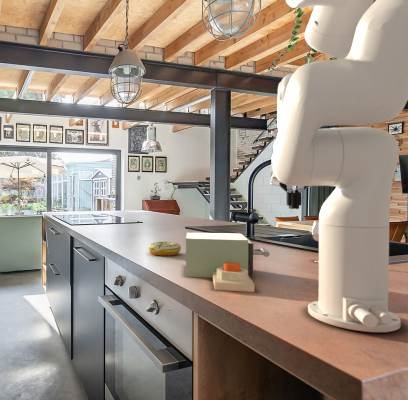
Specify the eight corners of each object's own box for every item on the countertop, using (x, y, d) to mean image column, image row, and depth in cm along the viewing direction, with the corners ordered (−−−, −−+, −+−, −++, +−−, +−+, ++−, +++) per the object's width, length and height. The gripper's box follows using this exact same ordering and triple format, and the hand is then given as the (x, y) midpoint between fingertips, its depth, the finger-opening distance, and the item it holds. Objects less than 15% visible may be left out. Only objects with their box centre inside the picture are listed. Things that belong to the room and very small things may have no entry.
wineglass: (338, 264, 101) (338, 222, 101) (316, 263, 102) (316, 222, 102) (329, 260, 107) (330, 220, 106) (308, 259, 108) (309, 220, 107)
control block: (254, 292, 74) (254, 275, 74) (214, 289, 76) (214, 273, 76) (247, 280, 84) (247, 265, 84) (212, 278, 86) (212, 264, 86)
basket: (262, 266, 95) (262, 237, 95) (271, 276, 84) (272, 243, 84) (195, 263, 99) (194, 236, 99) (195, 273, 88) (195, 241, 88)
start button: (241, 273, 78) (241, 265, 78) (224, 272, 79) (224, 264, 79) (239, 269, 81) (239, 262, 81) (222, 269, 82) (222, 261, 82)
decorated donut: (143, 252, 123) (143, 241, 123) (170, 250, 127) (170, 240, 127) (157, 257, 114) (157, 245, 113) (186, 255, 117) (186, 243, 117)
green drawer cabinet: (241, 268, 97) (241, 233, 97) (248, 279, 85) (248, 239, 84) (186, 266, 100) (186, 232, 100) (186, 276, 88) (185, 238, 88)
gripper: (264, 133, 85) (264, 209, 86) (333, 130, 82) (333, 209, 82) (258, 138, 92) (258, 207, 93) (322, 135, 89) (322, 208, 89)
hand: (293, 208), depth 87 cm, fingers closed
